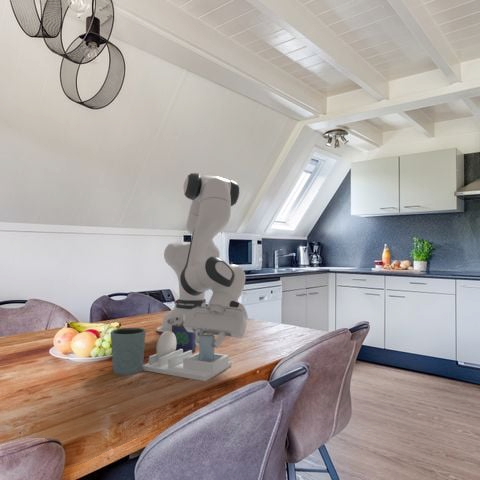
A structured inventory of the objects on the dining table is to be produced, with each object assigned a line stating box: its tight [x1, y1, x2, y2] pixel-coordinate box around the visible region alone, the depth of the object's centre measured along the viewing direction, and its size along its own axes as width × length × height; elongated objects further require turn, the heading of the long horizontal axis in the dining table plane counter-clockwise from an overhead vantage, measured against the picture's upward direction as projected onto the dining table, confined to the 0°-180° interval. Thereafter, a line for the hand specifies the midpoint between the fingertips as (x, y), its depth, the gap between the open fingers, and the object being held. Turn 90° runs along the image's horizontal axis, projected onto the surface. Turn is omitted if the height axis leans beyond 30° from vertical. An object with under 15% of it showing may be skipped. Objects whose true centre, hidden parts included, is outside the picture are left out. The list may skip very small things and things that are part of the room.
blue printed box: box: [172, 321, 197, 353], centre depth 138 cm, size 9×3×11 cm, turn 74°
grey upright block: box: [198, 334, 216, 362], centre depth 117 cm, size 5×5×7 cm
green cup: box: [110, 327, 146, 376], centre depth 116 cm, size 10×10×12 cm
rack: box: [142, 331, 233, 382], centre depth 119 cm, size 22×16×10 cm
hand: (205, 345), depth 117 cm, fingers closed on grey upright block, 5 cm apart
